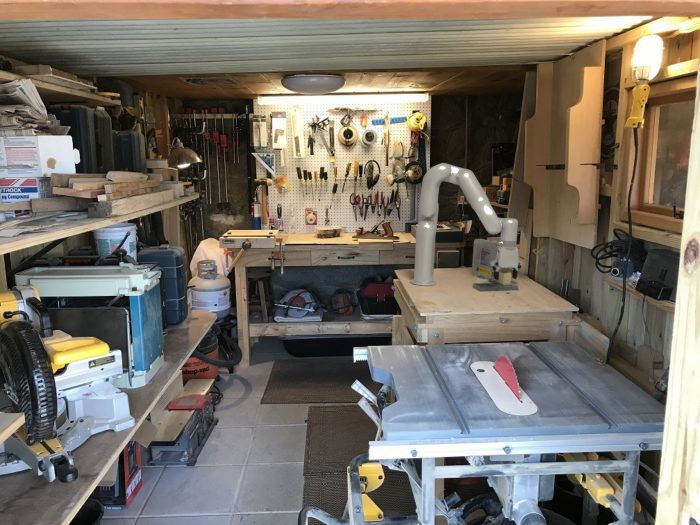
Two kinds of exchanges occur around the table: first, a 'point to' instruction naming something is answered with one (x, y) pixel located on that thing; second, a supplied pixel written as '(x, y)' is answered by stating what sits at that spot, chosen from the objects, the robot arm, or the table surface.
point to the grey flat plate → (494, 287)
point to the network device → (485, 259)
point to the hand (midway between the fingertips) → (505, 278)
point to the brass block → (504, 278)
